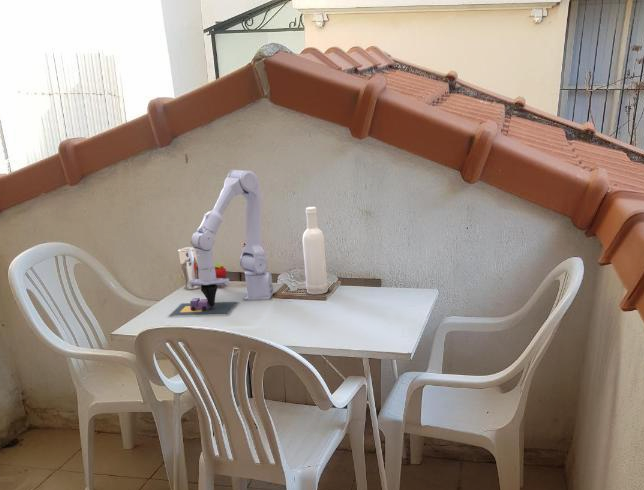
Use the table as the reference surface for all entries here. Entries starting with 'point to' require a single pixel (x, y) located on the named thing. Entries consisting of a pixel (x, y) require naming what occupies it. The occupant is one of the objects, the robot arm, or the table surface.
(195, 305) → the toy truck
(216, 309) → the play mat
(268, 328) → the table surface
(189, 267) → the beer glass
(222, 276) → the decorative fruit
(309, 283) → the bottle
